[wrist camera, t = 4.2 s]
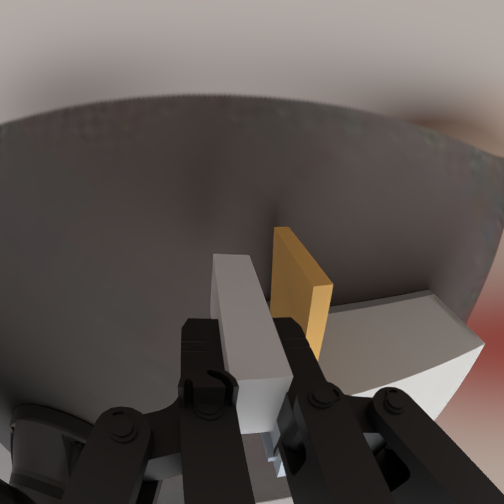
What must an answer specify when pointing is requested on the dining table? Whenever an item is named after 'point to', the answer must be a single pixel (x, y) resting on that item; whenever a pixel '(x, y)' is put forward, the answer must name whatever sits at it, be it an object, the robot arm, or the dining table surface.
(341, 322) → the case
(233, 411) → the robot arm
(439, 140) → the dining table surface
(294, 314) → the door
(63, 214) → the dining table surface
